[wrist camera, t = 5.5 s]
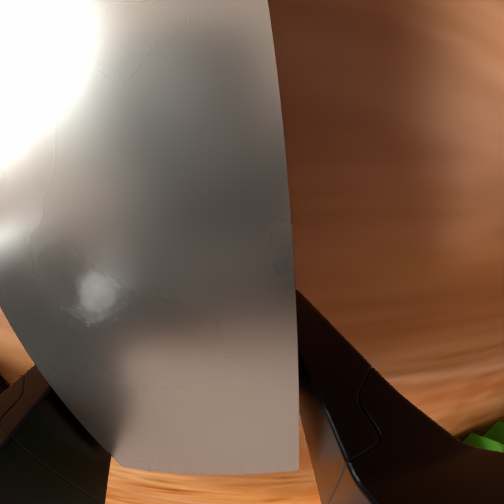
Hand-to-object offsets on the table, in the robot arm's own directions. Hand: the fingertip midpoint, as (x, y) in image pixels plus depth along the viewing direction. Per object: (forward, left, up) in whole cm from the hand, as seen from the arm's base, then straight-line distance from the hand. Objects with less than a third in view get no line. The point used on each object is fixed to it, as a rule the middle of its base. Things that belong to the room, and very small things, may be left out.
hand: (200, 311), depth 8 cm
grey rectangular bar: (+8, 0, -2) cm, 8 cm away
